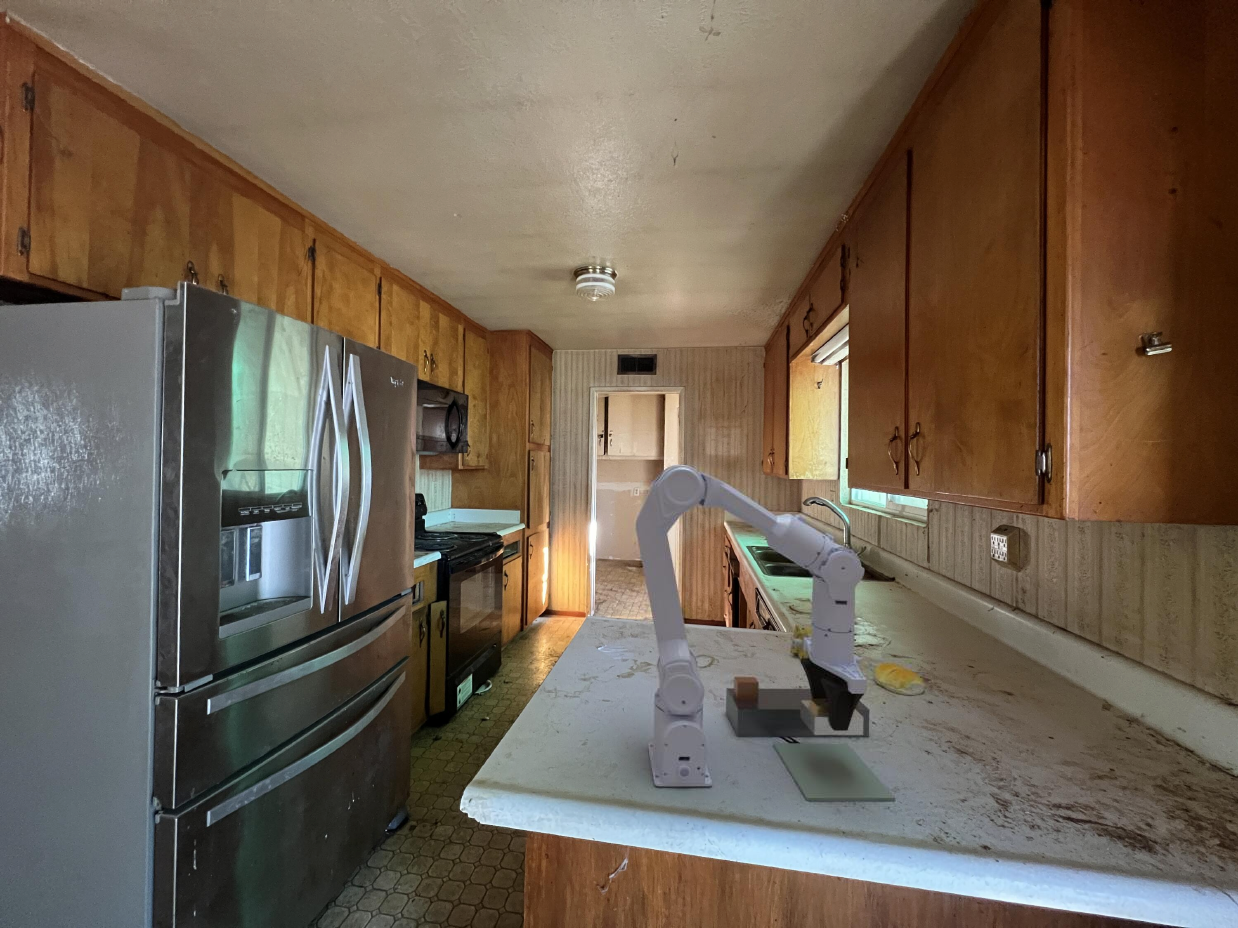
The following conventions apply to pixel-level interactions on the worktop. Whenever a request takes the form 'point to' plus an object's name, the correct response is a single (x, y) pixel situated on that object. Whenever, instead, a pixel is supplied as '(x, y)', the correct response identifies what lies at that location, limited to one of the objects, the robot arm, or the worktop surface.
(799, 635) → the yellow pipe fitting
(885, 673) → the bread roll
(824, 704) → the lever cap
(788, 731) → the hand plane
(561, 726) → the worktop surface
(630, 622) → the worktop surface
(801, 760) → the rubber mat
